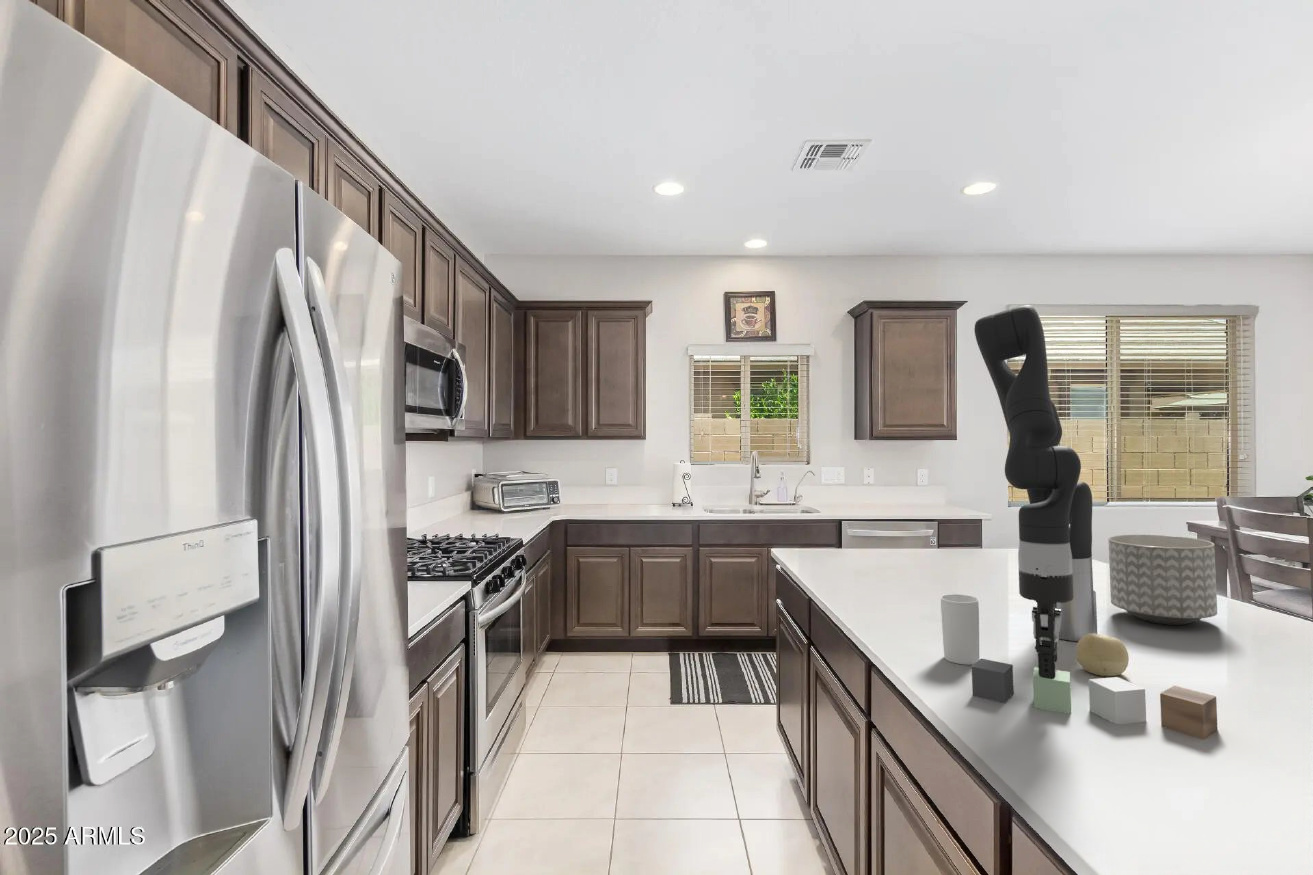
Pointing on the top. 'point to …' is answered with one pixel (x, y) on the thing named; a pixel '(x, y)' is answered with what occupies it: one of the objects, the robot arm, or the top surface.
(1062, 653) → the top surface
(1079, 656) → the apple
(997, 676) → the charcoal block
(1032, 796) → the top surface
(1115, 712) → the grey block
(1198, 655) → the top surface
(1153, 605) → the planter
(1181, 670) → the top surface
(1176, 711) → the walnut block
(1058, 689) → the sage block
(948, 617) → the mug
